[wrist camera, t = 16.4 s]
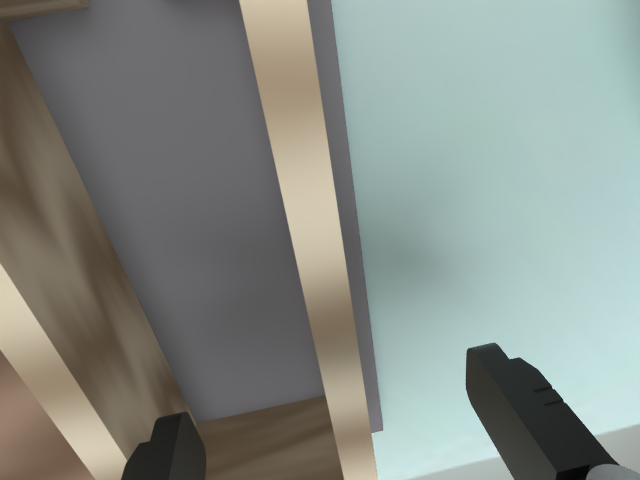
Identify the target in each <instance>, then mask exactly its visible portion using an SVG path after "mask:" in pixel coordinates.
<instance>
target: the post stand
mask: <svg viewBox="0 0 640 480" xmlns="http://www.w3.org/2000/svg"><path fill="white" fill-rule="evenodd" d="M0 480H96V479H95V478H94V477H93V475H92V474H91V473H90V471H89V470H88V469H87V467H86V466H85V464H84V463H83V462H82V460H81V459H80V458H79V456H78V455H77V454H76V452H75V451H74V449H73V448H72V447H71V445H70V444H69V443H68V441H67V440H66V439H65V437H64V436H63V434H62V433H61V432H60V430H59V429H58V428H57V426H56V425H55V424H54V422H53V421H52V419H51V418H50V417H49V415H48V414H47V413H46V411H45V410H44V409H43V407H42V406H41V404H40V403H39V402H38V400H37V399H36V398H35V396H34V395H33V394H32V392H31V391H30V389H29V388H28V387H27V385H26V384H25V383H24V381H23V380H22V379H21V377H20V376H19V374H18V373H17V372H16V370H15V369H14V368H13V366H12V365H11V364H10V362H9V361H8V359H7V358H6V357H5V355H4V354H3V353H2V351H1V350H0Z"/></svg>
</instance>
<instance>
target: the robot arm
mask: <svg viewBox="0 0 640 480" xmlns="http://www.w3.org/2000/svg"><path fill="white" fill-rule="evenodd" d="M466 390H467V394H468V397H469V400H470V403H471V405H472V407H473V409H474V410H475V412H476V414H477V416H478V417H479V419H480V421H481V422H482V424H483V426H484V428H485V429H486V431H487V433H488V435H489V436H490V438H491V440H492V442H493V443H494V445H495V447H496V448H497V450H498V452H499V454H500V455H501V457H502V459H503V461H504V462H505V464H506V466H507V468H508V469H509V471H510V473H511V475H512V476H513V478H514V480H640V474H638V473H637V472H635V471H633V470H631V469H628V468H625V467H623V466H620V465H619V464H618V463H617V462H616V461H615V460H614V459H613V458H612V457H611V456H610V455H609V454H608V453H607V452H606V451H605V449H604V448H603V447H602V446H601V444H600V443H599V442H598V441H597V440H596V438H595V437H594V436H593V435H592V434H591V432H590V431H589V430H588V429H587V428H586V426H585V425H584V424H583V423H582V422H581V420H580V419H579V418H578V417H577V416H576V414H575V413H574V412H573V411H572V410H571V408H570V407H569V406H568V405H567V404H566V403H564V402H563V399H562V398H561V396H560V395H559V394H558V393H557V392H556V390H555V389H552V386H551V384H550V383H549V382H548V381H547V380H546V379H545V377H544V376H543V375H542V374H541V373H540V371H539V370H538V369H536V368H535V367H533V366H532V365H530V364H529V363H527V362H526V361H524V360H523V359H521V358H520V357H519V358H514V359H510V360H509V358H508V357H507V356H506V354H505V353H504V352H503V351H502V349H501V348H500V347H499V346H498V345H497V344H496V343H490V344H485V345H481V346H477V347H472V348H468V350H467V357H466ZM205 474H206V452H205V447H204V444H203V442H202V440H201V438H200V436H199V434H198V432H197V430H196V428H195V425H194V423H193V421H192V419H191V417H190V415H189V414H188V412H181V413H176V414H172V415H168V416H163V417H159V418H158V419H157V420H156V421H155V424H154V427H153V431H152V435H151V439H150V441H148V442H143V443H139V444H138V446H137V447H136V449H135V451H134V452H133V454H132V455H131V457H130V458H129V460H128V461H127V463H126V464H125V468H124V471H123V474H122V477H121V480H205Z"/></svg>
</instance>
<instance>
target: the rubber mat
mask: <svg viewBox="0 0 640 480" xmlns="http://www.w3.org/2000/svg"><path fill="white" fill-rule="evenodd" d="M88 2H89V5H90V7H88V8H83V9H77V10H71V11H65V12H59V13H54V14H48V15H42V16H36V17H31V18H25V19H19V20H13V21H8V24H9V26H10V28H11V31H12V33H13V35H14V37H15V39H16V41H17V43H18V45H19V48H20V50H21V52H22V54H23V56H24V58H25V60H26V62H27V65H28V67H29V69H30V71H31V73H32V75H33V77H34V79H35V82H36V84H37V86H38V88H39V90H40V92H41V94H42V96H43V99H44V101H45V103H46V105H47V107H48V109H49V111H50V113H51V116H52V118H53V120H54V122H55V124H56V126H57V128H58V130H59V133H60V135H61V137H62V139H63V141H64V143H65V145H66V147H67V150H68V152H69V154H70V156H71V158H72V160H73V162H74V165H75V167H76V169H77V171H78V173H79V175H80V177H81V179H82V182H83V184H84V186H85V188H86V190H87V192H88V194H89V196H90V199H91V201H92V203H93V205H94V207H95V209H96V211H97V213H98V216H99V218H100V220H101V222H102V224H103V226H104V228H105V230H106V233H107V235H108V237H109V239H110V241H111V243H112V245H113V247H114V250H115V252H116V254H117V256H118V258H119V260H120V262H121V264H122V267H123V269H124V271H125V273H126V275H127V277H128V279H129V281H130V284H131V286H132V288H133V290H134V292H135V294H136V296H137V299H138V301H139V303H140V305H141V307H142V309H143V311H144V313H145V316H146V318H147V320H148V322H149V324H150V326H151V328H152V330H153V333H154V335H155V337H156V339H157V341H158V343H159V345H160V347H161V350H162V352H163V354H164V356H165V358H166V360H167V362H168V364H169V367H170V369H171V371H172V373H173V375H174V377H175V379H176V381H177V384H178V386H179V388H180V390H181V392H182V394H183V396H184V398H185V401H186V403H187V405H188V407H189V409H190V411H191V413H192V415H193V418H194V420H195V422H196V424H197V423H202V422H206V421H211V420H215V419H220V418H225V417H229V416H234V415H238V414H243V413H247V412H252V411H256V410H261V409H265V408H270V407H275V406H279V405H284V404H288V403H293V402H297V401H302V400H306V399H311V398H315V397H320V396H325V395H326V394H325V390H324V385H323V381H322V376H321V371H320V367H319V362H318V358H317V353H316V349H315V344H314V339H313V335H312V330H311V326H310V321H309V317H308V312H307V307H306V303H305V298H304V294H303V289H302V285H301V280H300V275H299V271H298V266H297V262H296V257H295V253H294V248H293V243H292V239H291V234H290V230H289V225H288V221H287V216H286V212H285V207H284V202H283V198H282V193H281V189H280V184H279V180H278V175H277V170H276V166H275V161H274V157H273V152H272V148H271V143H270V138H269V134H268V129H267V125H266V120H265V116H264V111H263V106H262V102H261V97H260V93H259V88H258V84H257V79H256V74H255V70H254V65H253V61H252V56H251V52H250V47H249V42H248V38H247V33H246V29H245V24H244V20H243V15H242V10H241V6H240V1H239V0H88ZM307 6H308V13H309V20H310V26H311V33H312V40H313V46H314V53H315V60H316V67H317V73H318V80H319V87H320V93H321V100H322V107H323V114H324V120H325V127H326V134H327V140H328V147H329V154H330V161H331V167H332V174H333V181H334V187H335V194H336V201H337V208H338V214H339V221H340V228H341V234H342V241H343V248H344V255H345V261H346V268H347V275H348V281H349V288H350V295H351V302H352V308H353V315H354V322H355V328H356V335H357V342H358V349H359V355H360V362H361V369H362V375H363V382H364V389H365V396H366V402H367V409H368V416H369V422H370V429H371V433H374V432H378V431H383V424H382V416H381V408H380V400H379V391H378V383H377V375H376V367H375V359H374V351H373V342H372V334H371V326H370V318H369V310H368V302H367V293H366V285H365V277H364V269H363V261H362V252H361V244H360V236H359V228H358V220H357V212H356V203H355V195H354V187H353V179H352V171H351V163H350V154H349V146H348V138H347V130H346V122H345V114H344V105H343V97H342V89H341V81H340V73H339V64H338V56H337V48H336V40H335V32H334V24H333V15H332V7H331V0H307Z"/></svg>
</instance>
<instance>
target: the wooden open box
mask: <svg viewBox="0 0 640 480" xmlns="http://www.w3.org/2000/svg"><path fill="white" fill-rule="evenodd" d="M239 1H240V6H241V10H242V15H243V20H244V24H245V29H246V33H247V38H248V42H249V47H250V52H251V56H252V61H253V65H254V70H255V74H256V79H257V84H258V88H259V93H260V97H261V102H262V106H263V111H264V116H265V120H266V125H267V129H268V134H269V138H270V143H271V148H272V152H273V157H274V161H275V166H276V170H277V175H278V180H279V184H280V189H281V193H282V198H283V202H284V207H285V212H286V216H287V221H288V225H289V230H290V234H291V239H292V243H293V248H294V253H295V257H296V262H297V266H298V271H299V275H300V280H301V285H302V289H303V294H304V298H305V303H306V307H307V312H308V317H309V321H310V326H311V330H312V335H313V339H314V344H315V349H316V353H317V358H318V362H319V367H320V371H321V376H322V381H323V385H324V390H325V394H326V395H325V396H320V397H315V398H311V399H306V400H302V401H297V402H293V403H288V404H284V405H279V406H275V407H270V408H265V409H261V410H256V411H252V412H247V413H243V414H238V415H234V416H229V417H225V418H220V419H215V420H211V421H206V422H202V423H197V424H196V422H195V420H194V418H193V415H192V413H191V411H190V409H189V407H188V405H187V403H186V401H185V398H184V396H183V394H182V392H181V390H180V388H179V386H178V384H177V381H176V379H175V377H174V375H173V373H172V371H171V369H170V367H169V364H168V362H167V360H166V358H165V356H164V354H163V352H162V350H161V347H160V345H159V343H158V341H157V339H156V337H155V335H154V333H153V330H152V328H151V326H150V324H149V322H148V320H147V318H146V316H145V313H144V311H143V309H142V307H141V305H140V303H139V301H138V299H137V296H136V294H135V292H134V290H133V288H132V286H131V284H130V281H129V279H128V277H127V275H126V273H125V271H124V269H123V267H122V264H121V262H120V260H119V258H118V256H117V254H116V252H115V250H114V247H113V245H112V243H111V241H110V239H109V237H108V235H107V233H106V230H105V228H104V226H103V224H102V222H101V220H100V218H99V216H98V213H97V211H96V209H95V207H94V205H93V203H92V201H91V199H90V196H89V194H88V192H87V190H86V188H85V186H84V184H83V182H82V179H81V177H80V175H79V173H78V171H77V169H76V167H75V165H74V162H73V160H72V158H71V156H70V154H69V152H68V150H67V147H66V145H65V143H64V141H63V139H62V137H61V135H60V133H59V130H58V128H57V126H56V124H55V122H54V120H53V118H52V116H51V113H50V111H49V109H48V107H47V105H46V103H45V101H44V99H43V96H42V94H41V92H40V90H39V88H38V86H37V84H36V82H35V79H34V77H33V75H32V73H31V71H30V69H29V67H28V65H27V62H26V60H25V58H24V56H23V54H22V52H21V50H20V48H19V45H18V43H17V41H16V39H15V37H14V35H13V33H12V31H11V28H10V26H9V24H8V21H13V20H19V19H25V18H31V17H36V16H42V15H48V14H54V13H59V12H65V11H71V10H77V9H83V8H88V7H90V5H89V2H88V0H0V350H1V351H2V353H3V354H4V355H5V357H6V358H7V359H8V361H9V362H10V364H11V365H12V366H13V368H14V369H15V370H16V372H17V373H18V374H19V376H20V377H21V379H22V380H23V381H24V383H25V384H26V385H27V387H28V388H29V389H30V391H31V392H32V394H33V395H34V396H35V398H36V399H37V400H38V402H39V403H40V404H41V406H42V407H43V409H44V410H45V411H46V413H47V414H48V415H49V417H50V418H51V419H52V421H53V422H54V424H55V425H56V426H57V428H58V429H59V430H60V432H61V433H62V434H63V436H64V437H65V439H66V440H67V441H68V443H69V444H70V445H71V447H72V448H73V449H74V451H75V452H76V454H77V455H78V456H79V458H80V459H81V460H82V462H83V463H84V464H85V466H86V467H87V469H88V470H89V471H90V473H91V474H92V475H93V477H94V478H95V479H96V480H121V477H122V474H123V471H124V468H125V464H126V463H127V461H128V460H129V458H130V457H131V455H132V454H133V452H134V451H135V449H136V447H137V446H138V444H139V443H143V442H148V441H150V439H151V435H152V431H153V427H154V424H155V421H156V420H157V419H158V418H159V417H163V416H168V415H172V414H176V413H181V412H188V414H189V415H190V417H191V419H192V421H193V423H194V425H195V428H196V430H197V432H198V434H199V436H200V438H201V440H202V442H203V444H204V447H205V452H206V474H205V480H378V476H377V469H376V463H375V456H374V449H373V443H372V436H371V429H370V422H369V416H368V409H367V402H366V396H365V389H364V382H363V375H362V369H361V362H360V355H359V349H358V342H357V335H356V328H355V322H354V315H353V308H352V302H351V295H350V288H349V281H348V275H347V268H346V261H345V255H344V248H343V241H342V234H341V228H340V221H339V214H338V208H337V201H336V194H335V187H334V181H333V174H332V167H331V161H330V154H329V147H328V140H327V134H326V127H325V120H324V114H323V107H322V100H321V93H320V87H319V80H318V73H317V67H316V60H315V53H314V46H313V40H312V33H311V26H310V20H309V13H308V6H307V0H239Z"/></svg>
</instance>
